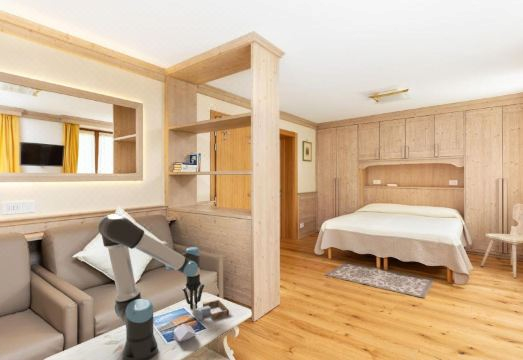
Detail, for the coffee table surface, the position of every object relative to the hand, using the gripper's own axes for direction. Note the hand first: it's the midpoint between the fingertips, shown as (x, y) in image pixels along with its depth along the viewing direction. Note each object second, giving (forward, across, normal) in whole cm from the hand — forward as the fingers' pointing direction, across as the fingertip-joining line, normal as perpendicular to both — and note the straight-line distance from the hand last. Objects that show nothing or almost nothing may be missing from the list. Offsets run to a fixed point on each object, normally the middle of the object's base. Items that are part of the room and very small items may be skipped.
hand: (193, 314), depth 167 cm
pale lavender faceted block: (+2, -10, -18) cm, 21 cm away
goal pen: (+2, +14, 0) cm, 14 cm away
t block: (+2, +5, 0) cm, 6 cm away
